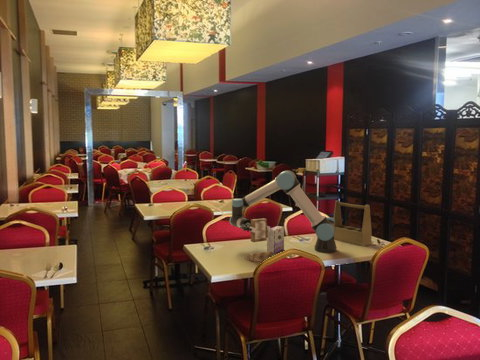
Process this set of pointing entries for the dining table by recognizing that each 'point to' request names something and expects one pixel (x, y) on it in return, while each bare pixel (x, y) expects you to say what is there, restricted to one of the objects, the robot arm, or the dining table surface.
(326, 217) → the robot arm
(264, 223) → the wooden block
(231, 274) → the dining table surface
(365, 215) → the caddy
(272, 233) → the candy box
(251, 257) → the ledge
